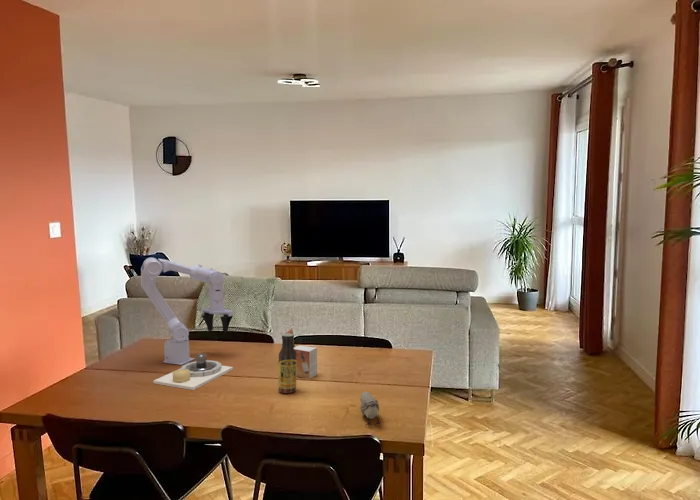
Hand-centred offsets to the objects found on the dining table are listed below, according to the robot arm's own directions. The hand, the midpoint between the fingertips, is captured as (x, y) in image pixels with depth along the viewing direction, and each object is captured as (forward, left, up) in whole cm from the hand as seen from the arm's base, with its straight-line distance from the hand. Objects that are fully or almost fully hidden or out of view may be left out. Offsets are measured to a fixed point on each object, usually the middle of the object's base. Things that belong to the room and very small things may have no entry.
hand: (217, 331), depth 224 cm
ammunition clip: (+30, +6, -11) cm, 32 cm away
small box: (+45, -8, -11) cm, 47 cm away
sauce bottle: (+47, -24, -11) cm, 54 cm away
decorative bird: (+81, -33, -11) cm, 88 cm away
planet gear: (+7, -20, -9) cm, 23 cm away
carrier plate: (+7, -24, -10) cm, 27 cm away
